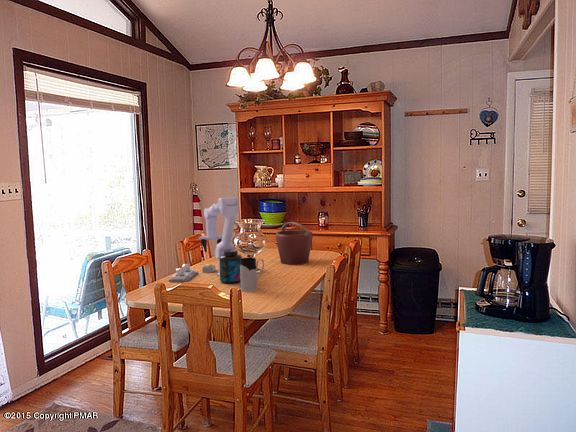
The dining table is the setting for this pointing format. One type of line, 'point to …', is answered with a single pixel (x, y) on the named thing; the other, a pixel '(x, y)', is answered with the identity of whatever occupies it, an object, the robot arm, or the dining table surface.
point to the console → (208, 268)
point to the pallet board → (183, 277)
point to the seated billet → (180, 272)
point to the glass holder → (249, 274)
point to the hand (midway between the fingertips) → (212, 252)
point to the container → (230, 266)
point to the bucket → (294, 245)
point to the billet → (186, 267)
